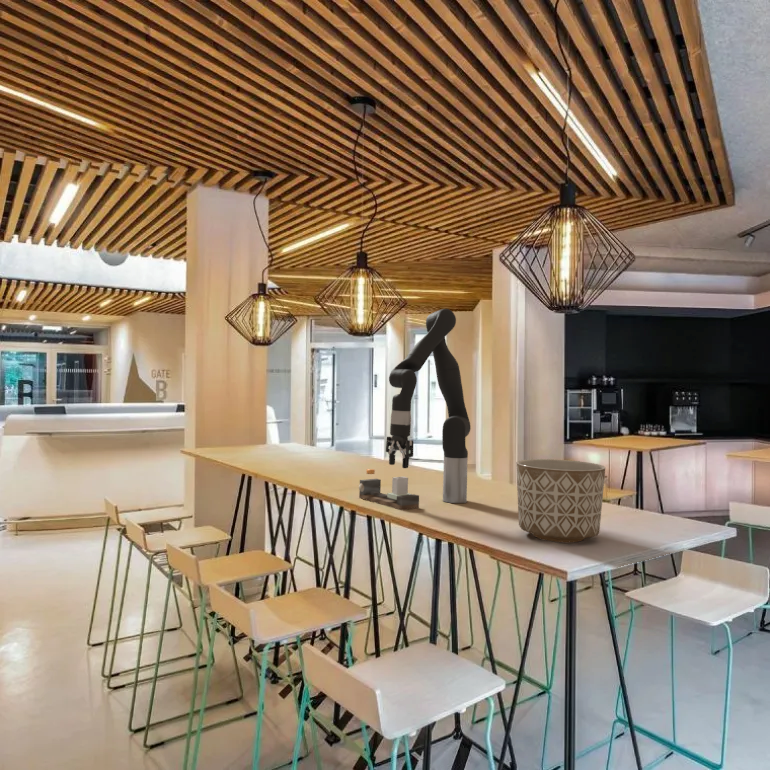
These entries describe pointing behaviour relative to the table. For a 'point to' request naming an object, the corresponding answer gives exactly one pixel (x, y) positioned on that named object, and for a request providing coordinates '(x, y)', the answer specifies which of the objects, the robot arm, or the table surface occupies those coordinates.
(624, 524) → the table surface
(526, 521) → the planter
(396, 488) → the carriage
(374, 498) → the rail
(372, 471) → the gauge button
